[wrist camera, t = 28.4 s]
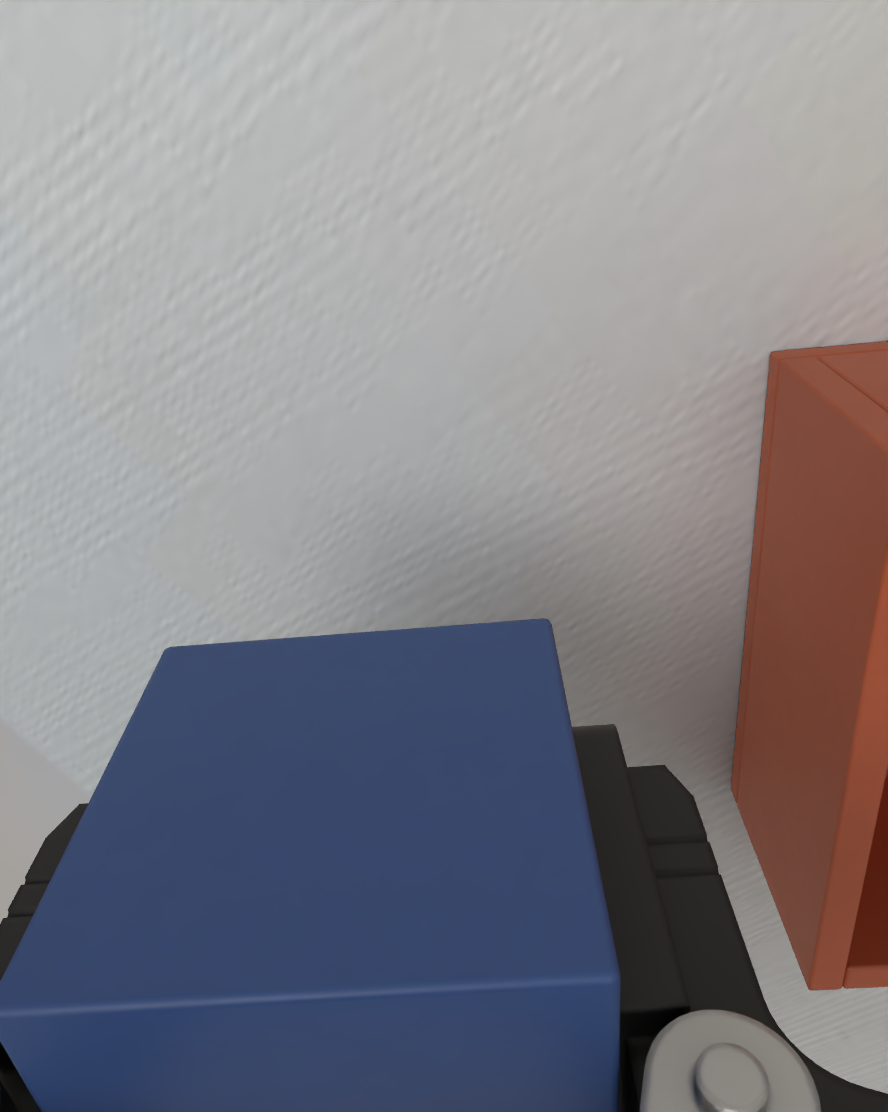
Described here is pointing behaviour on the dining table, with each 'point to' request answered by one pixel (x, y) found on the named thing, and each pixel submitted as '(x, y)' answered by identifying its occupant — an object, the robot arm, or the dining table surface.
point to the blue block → (330, 891)
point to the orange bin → (821, 662)
